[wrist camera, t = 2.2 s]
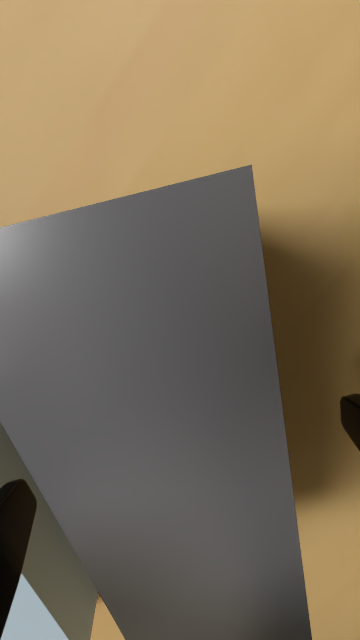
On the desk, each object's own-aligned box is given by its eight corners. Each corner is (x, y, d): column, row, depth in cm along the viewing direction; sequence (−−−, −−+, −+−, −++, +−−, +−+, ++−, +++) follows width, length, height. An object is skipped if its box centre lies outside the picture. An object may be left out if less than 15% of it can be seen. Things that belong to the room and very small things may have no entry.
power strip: (76, 240, 8) (-118, 253, 2) (187, 212, 8) (259, 159, 2) (171, 508, 12) (183, 754, 6) (245, 489, 12) (325, 718, 6)
